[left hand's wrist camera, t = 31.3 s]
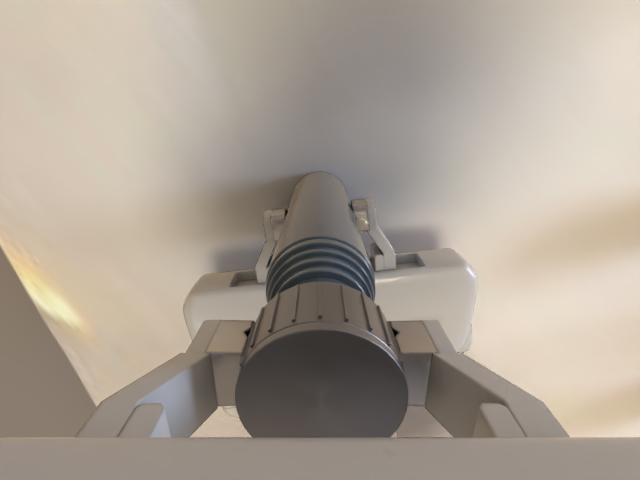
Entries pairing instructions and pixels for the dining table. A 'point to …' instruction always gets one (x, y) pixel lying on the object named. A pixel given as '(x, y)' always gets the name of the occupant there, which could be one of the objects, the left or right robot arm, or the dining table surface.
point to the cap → (321, 367)
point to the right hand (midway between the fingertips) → (317, 205)
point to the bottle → (320, 240)
